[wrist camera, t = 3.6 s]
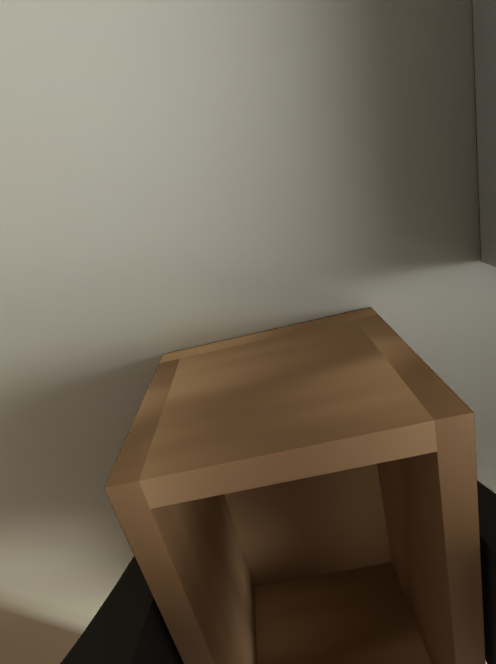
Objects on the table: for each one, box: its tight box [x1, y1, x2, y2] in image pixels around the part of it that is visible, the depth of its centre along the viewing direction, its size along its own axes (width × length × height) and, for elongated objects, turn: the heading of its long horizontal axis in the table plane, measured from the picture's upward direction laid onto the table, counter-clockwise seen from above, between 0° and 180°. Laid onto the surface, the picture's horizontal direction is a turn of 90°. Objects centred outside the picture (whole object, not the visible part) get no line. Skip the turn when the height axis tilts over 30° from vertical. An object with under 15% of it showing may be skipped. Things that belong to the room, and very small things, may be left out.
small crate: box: [104, 307, 486, 664], centre depth 9 cm, size 5×8×4 cm, turn 13°
